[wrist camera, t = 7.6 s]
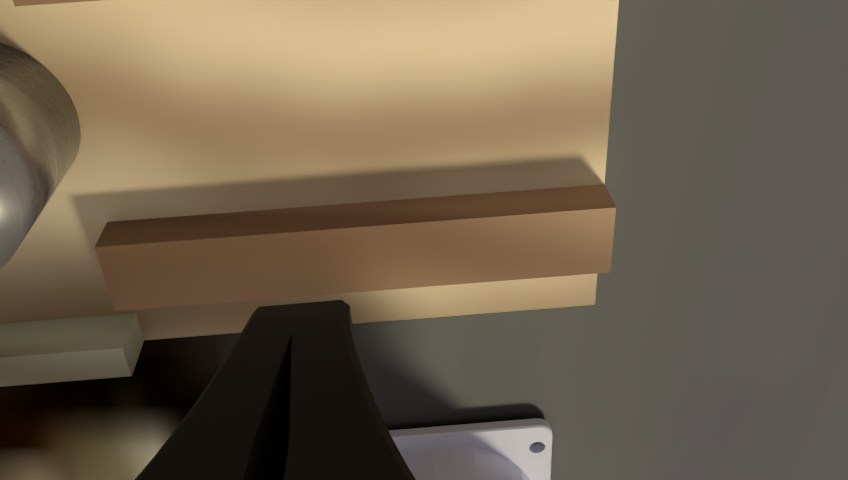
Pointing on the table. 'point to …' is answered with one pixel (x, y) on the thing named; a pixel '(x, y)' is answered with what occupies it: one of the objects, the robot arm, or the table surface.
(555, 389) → the table surface
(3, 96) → the puck
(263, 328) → the robot arm
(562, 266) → the slot board
